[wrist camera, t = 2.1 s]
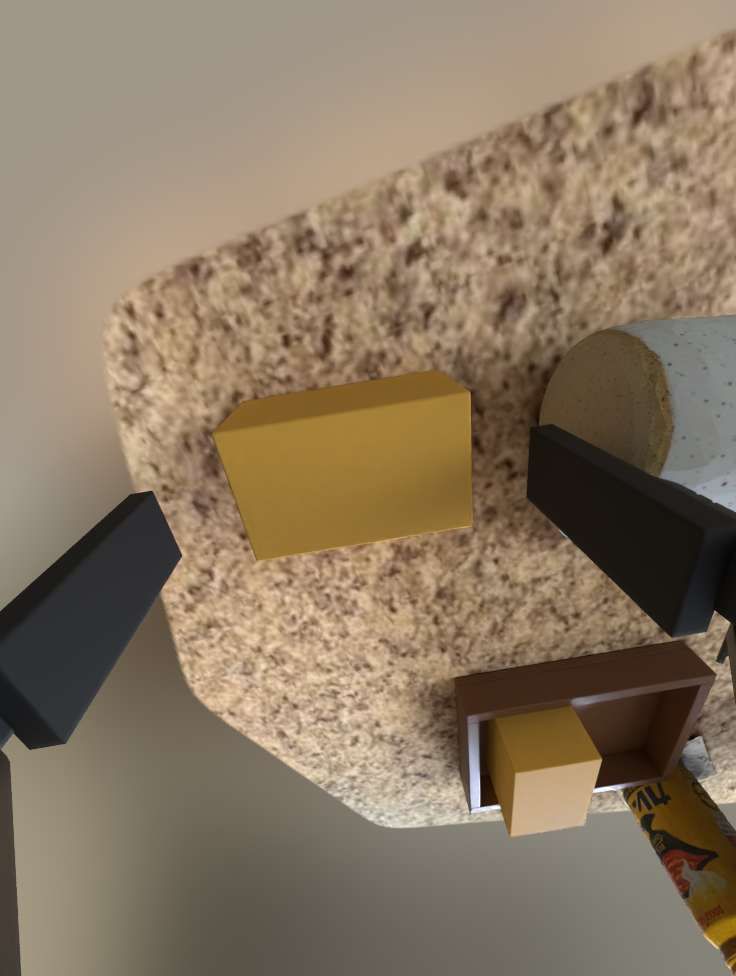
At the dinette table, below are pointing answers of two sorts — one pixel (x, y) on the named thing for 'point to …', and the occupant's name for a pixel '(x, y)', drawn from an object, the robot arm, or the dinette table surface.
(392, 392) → the pad loose
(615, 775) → the frame
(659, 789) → the condiment
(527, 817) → the pad seated
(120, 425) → the dinette table surface
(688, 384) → the ceramic mug
